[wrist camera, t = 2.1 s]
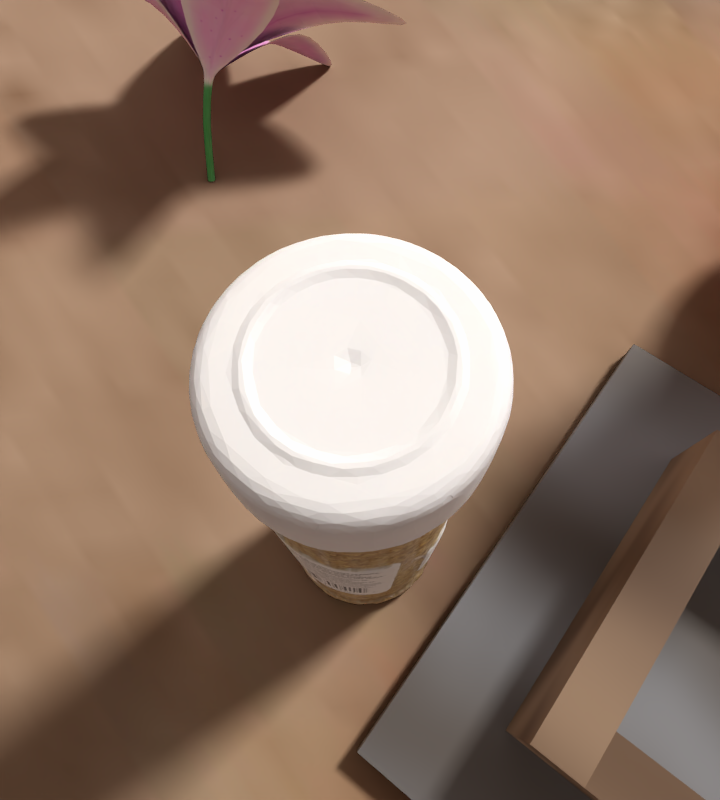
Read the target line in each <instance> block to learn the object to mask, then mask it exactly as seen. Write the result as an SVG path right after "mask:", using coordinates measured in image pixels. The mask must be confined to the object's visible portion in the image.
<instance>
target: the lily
mask: <svg viewBox="0 0 720 800" xmlns="http://www.w3.org/2000/svg"><path fill="white" fill-rule="evenodd" d="M145 1H147V2H149V3H151V4H152V5H153V6H154V7H155V8H156V9H158V10H159V11H160V12H161V13H162V14H164V15H165V16H166V18H167V19H168V20H169V21H170V22H171V23H172V24H173V25H174V26H175V27H176V29H177V30H178V31H179V32H180V34H181V35H182V36H183V38H184V39H185V40H186V41H187V43H188V44H189V46H190V47H191V48H192V50H193V51H194V53H195V54H196V56H197V58H198V59H199V61H200V63H201V65H202V67H203V71H204V94H203V129H204V143H205V155H206V165H207V175H208V181H211V182H212V181H215V173H214V162H213V151H212V136H211V95H212V84H213V80H214V77H215V75H216V74H217V73H218V72H219V71H220V70H221V69H223V68H224V67H225V66H227V65H229V64H230V63H232V62H234V61H235V60H237V59H239V58H241V57H242V56H244V55H246V54H248V53H249V52H251V51H253V50H255V49H257V48H260V47H262V46H265V45H267V44H277V45H280V46H282V47H285V48H287V49H290V50H292V51H295V52H297V53H299V54H301V55H304V56H306V57H308V58H310V59H313V60H315V61H317V62H319V63H321V64H324V65H327V66H331V65H332V64H331V61H330V59H329V57H328V56H327V54H326V53H325V51H324V50H323V49H322V48H321V47H320V46H319V45H318V44H317V43H316V42H315V41H314V40H312V39H311V38H310V37H307V36H304V35H300V34H297V35H288V36H284V37H282V38H279V39H276V40H273V41H271V42H269V41H268V40H270V39H273V38H276V37H279V36H282V35H285V34H288V33H291V32H294V31H298V30H301V29H305V28H309V27H313V26H318V25H323V24H328V23H338V22H369V23H382V24H398V25H403V24H406V22H405V21H404V20H402V19H401V18H400V17H398V16H396V15H394V14H392V13H390V12H388V11H386V10H384V9H382V8H380V7H377V6H375V5H373V4H370V3H368V2H365V1H363V0H145Z"/></svg>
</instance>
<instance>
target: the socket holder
mask: <svg viewBox="0 0 720 800" xmlns="http://www.w3.org/2000/svg"><path fill="white" fill-rule="evenodd" d="M357 753H358V754H360V755H361V756H362V757H363V758H364V759H365V760H366V761H368V762H369V763H370V764H371V765H372V766H373V767H375V768H376V769H377V770H378V771H379V772H380V773H381V774H383V775H384V776H385V777H386V778H387V779H388V780H390V781H391V782H392V783H393V784H394V785H395V786H396V787H398V788H399V789H400V790H401V791H402V792H403V793H405V794H406V795H407V796H408V797H409V798H410V799H411V800H720V396H719V395H717V394H716V393H714V392H713V391H711V390H709V389H708V388H706V387H704V386H703V385H701V384H699V383H698V382H696V381H694V380H693V379H691V378H689V377H688V376H686V375H684V374H683V373H681V372H679V371H678V370H676V369H674V368H673V367H671V366H669V365H668V364H666V363H665V362H663V361H661V360H660V359H658V358H656V357H655V356H653V355H651V354H650V353H648V352H646V351H645V350H643V349H641V348H640V347H638V346H636V345H635V344H634V345H633V346H632V347H631V348H630V349H629V350H628V352H627V353H626V354H625V355H624V357H623V358H622V360H621V361H620V363H619V364H618V366H617V367H616V369H615V370H614V372H613V373H612V375H611V376H610V378H609V379H608V381H607V382H606V383H605V385H604V386H603V388H602V389H601V391H600V392H599V394H598V395H597V397H596V398H595V400H594V401H593V403H592V404H591V406H590V407H589V409H588V410H587V411H586V413H585V414H584V416H583V417H582V419H581V420H580V422H579V423H578V425H577V426H576V428H575V429H574V431H573V432H572V434H571V435H570V437H569V438H568V439H567V441H566V442H565V444H564V445H563V447H562V448H561V450H560V451H559V453H558V454H557V456H556V457H555V459H554V460H553V462H552V463H551V465H550V466H549V467H548V469H547V470H546V472H545V473H544V475H543V476H542V478H541V479H540V481H539V482H538V484H537V485H536V487H535V488H534V490H533V491H532V493H531V494H530V495H529V497H528V498H527V500H526V501H525V503H524V504H523V506H522V507H521V509H520V510H519V512H518V513H517V515H516V516H515V518H514V519H513V521H512V522H511V523H510V525H509V526H508V528H507V529H506V531H505V532H504V534H503V535H502V537H501V538H500V540H499V541H498V543H497V544H496V546H495V547H494V549H493V550H492V551H491V553H490V554H489V556H488V557H487V559H486V560H485V562H484V563H483V565H482V566H481V568H480V569H479V571H478V572H477V574H476V575H475V576H474V578H473V579H472V581H471V582H470V584H469V585H468V587H467V588H466V590H465V591H464V593H463V594H462V596H461V597H460V599H459V600H458V602H457V603H456V604H455V606H454V607H453V609H452V610H451V612H450V613H449V615H448V616H447V618H446V619H445V621H444V622H443V624H442V625H441V627H440V628H439V630H438V631H437V632H436V634H435V635H434V637H433V638H432V640H431V641H430V643H429V644H428V646H427V647H426V649H425V650H424V652H423V653H422V655H421V656H420V658H419V659H418V660H417V662H416V663H415V665H414V666H413V668H412V669H411V671H410V672H409V674H408V675H407V677H406V678H405V680H404V681H403V683H402V684H401V686H400V687H399V688H398V690H397V691H396V693H395V694H394V696H393V697H392V699H391V700H390V702H389V703H388V705H387V706H386V708H385V709H384V711H383V712H382V714H381V715H380V716H379V718H378V719H377V721H376V722H375V724H374V725H373V727H372V728H371V730H370V731H369V733H368V734H367V736H366V737H365V739H364V740H363V742H362V743H361V744H360V746H359V747H358V750H357Z"/></svg>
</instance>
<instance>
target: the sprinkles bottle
mask: <svg viewBox="0 0 720 800" xmlns="http://www.w3.org/2000/svg"><path fill="white" fill-rule="evenodd" d="M513 381H514V380H513V364H512V358H511V353H510V348H509V345H508V342H507V339H506V336H505V333H504V330H503V328H502V326H501V324H500V321H499V319H498V317H497V315H496V313H495V312H494V310H493V308H492V306H491V305H490V303H489V302H488V301H487V300H486V298H485V297H484V295H483V294H482V292H481V291H480V290H479V289H478V288H477V287H476V286H475V284H474V283H472V282H471V281H470V280H469V279H468V278H467V277H466V276H465V275H464V274H463V273H462V272H461V271H459V270H458V269H457V268H456V267H454V266H453V265H451V264H450V263H448V262H447V261H445V260H444V259H443V258H441V257H440V256H438V255H436V254H434V253H432V252H430V251H428V250H426V249H424V248H421V247H419V246H416V245H414V244H411V243H409V242H406V241H402V240H399V239H395V238H390V237H386V236H380V235H374V234H336V235H327V236H320V237H316V238H312V239H309V240H305V241H302V242H298V243H295V244H292V245H290V246H287V247H284V248H282V249H279V250H277V251H276V252H274V253H272V254H270V255H268V256H266V257H265V258H263V259H261V260H260V261H258V262H257V263H255V264H254V265H253V266H251V267H250V268H249V269H248V270H246V271H245V272H244V273H242V274H241V275H240V276H239V277H238V278H237V279H236V280H235V281H234V282H233V283H232V284H231V285H230V286H229V287H228V288H227V289H226V290H225V291H224V293H223V294H222V295H221V296H220V298H219V299H218V300H217V301H216V303H215V304H214V306H213V307H212V309H211V310H210V312H209V314H208V316H207V318H206V320H205V321H204V323H203V325H202V327H201V329H200V332H199V334H198V337H197V341H196V345H195V347H194V350H193V355H192V361H191V367H190V375H189V397H190V404H191V411H192V417H193V420H194V424H195V427H196V430H197V433H198V436H199V439H200V441H201V443H202V446H203V448H204V450H205V452H206V454H207V456H208V457H209V459H210V461H211V462H212V464H213V465H214V467H215V468H216V470H217V471H218V473H219V474H220V476H221V477H222V479H223V480H224V482H225V483H226V484H227V486H228V487H229V488H230V489H231V491H232V492H233V493H234V495H235V496H236V497H237V498H238V499H239V500H240V502H241V503H242V504H243V505H244V506H245V507H246V508H247V509H248V510H249V511H250V512H251V513H252V514H253V515H254V516H255V517H256V518H257V519H259V520H260V521H261V522H262V523H264V524H265V525H267V526H268V527H269V528H271V529H272V530H274V532H275V533H276V534H277V535H278V537H279V538H280V539H281V540H282V542H283V543H284V544H285V545H286V546H287V548H288V549H289V550H290V551H291V553H292V554H293V555H294V556H295V557H296V559H297V560H298V561H299V562H300V564H301V565H302V567H303V569H304V570H305V572H306V574H307V575H308V576H309V577H310V578H311V579H312V580H313V582H314V583H315V584H316V585H317V586H318V587H320V588H321V589H322V590H323V591H324V592H325V593H327V594H328V595H330V596H332V597H334V598H336V599H339V600H342V601H345V602H349V603H353V604H369V603H375V604H378V603H381V602H384V601H387V600H390V599H393V598H395V597H397V596H399V595H401V594H402V593H404V592H405V591H407V590H408V589H409V588H410V587H411V586H412V585H413V583H414V582H415V581H416V580H417V579H418V578H419V577H420V576H421V575H422V573H423V570H424V568H425V566H426V564H427V562H428V560H429V558H430V556H431V554H432V553H433V551H434V549H435V547H436V546H437V544H438V542H439V540H440V538H441V536H442V534H443V532H444V529H445V527H446V523H447V520H448V519H449V518H450V517H451V516H452V515H454V514H455V513H456V512H457V511H458V510H459V509H460V508H461V507H462V506H463V505H464V504H465V503H466V501H467V500H468V499H469V498H470V496H471V495H472V493H473V492H474V491H475V489H476V488H477V486H478V485H479V483H480V482H481V480H482V478H483V476H484V475H485V473H486V471H487V469H488V468H489V466H490V464H491V461H492V459H493V457H494V455H495V453H496V451H497V449H498V446H499V444H500V442H501V439H502V437H503V434H504V431H505V429H506V426H507V423H508V420H509V416H510V412H511V407H512V400H513Z"/></svg>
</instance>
